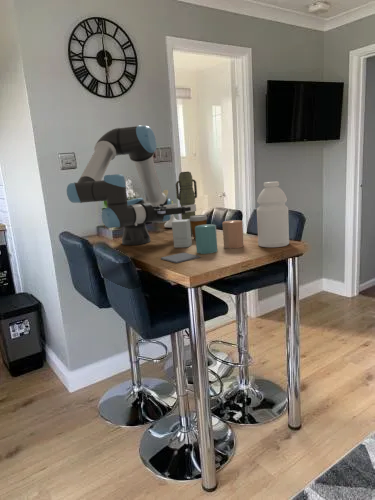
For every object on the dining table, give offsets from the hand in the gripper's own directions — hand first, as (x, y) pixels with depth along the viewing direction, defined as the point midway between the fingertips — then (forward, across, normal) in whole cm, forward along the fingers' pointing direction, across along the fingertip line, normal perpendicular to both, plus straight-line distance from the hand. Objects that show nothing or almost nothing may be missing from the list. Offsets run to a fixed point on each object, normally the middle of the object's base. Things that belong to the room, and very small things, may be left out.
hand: (185, 207), depth 163 cm
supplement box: (+11, -20, -21) cm, 31 cm away
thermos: (+34, -47, -21) cm, 61 cm away
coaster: (-5, +1, -21) cm, 22 cm away
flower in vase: (+42, -77, -20) cm, 90 cm away
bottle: (+36, +15, -21) cm, 44 cm away
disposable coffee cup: (+28, -29, -21) cm, 45 cm away
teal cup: (+10, 0, -21) cm, 23 cm away
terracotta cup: (+24, +2, -21) cm, 32 cm away
